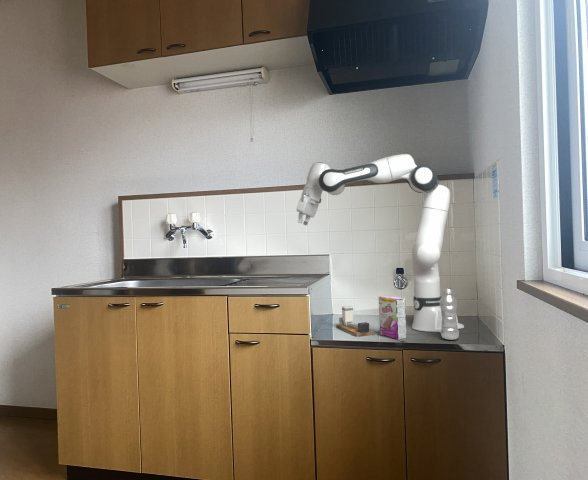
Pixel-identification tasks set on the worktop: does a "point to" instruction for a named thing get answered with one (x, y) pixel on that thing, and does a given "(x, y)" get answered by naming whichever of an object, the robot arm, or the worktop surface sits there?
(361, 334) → the rail board
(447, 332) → the plastic bottle
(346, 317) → the grey-banded white pillar
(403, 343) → the worktop surface
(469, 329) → the worktop surface
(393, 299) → the candy bar box
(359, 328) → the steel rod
